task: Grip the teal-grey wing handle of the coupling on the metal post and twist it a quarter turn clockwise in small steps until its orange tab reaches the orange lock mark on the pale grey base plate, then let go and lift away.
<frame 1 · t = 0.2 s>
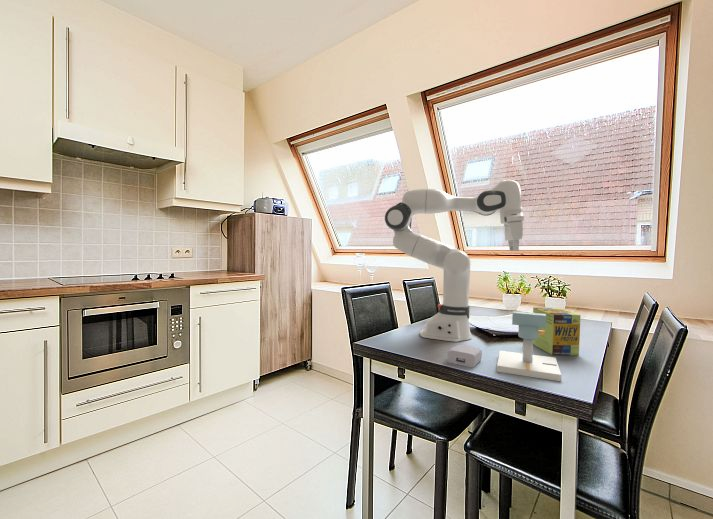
hand: (514, 250, 147), 39 cm above the table, tool pointing down, fingers open, 8 cm apart
post base: (527, 367, 116), on the table
charger: (467, 360, 124), on the table
protein box: (554, 350, 137), on the table
coupling: (528, 325, 116), point 14 cm above the table, hinge at 0.0°
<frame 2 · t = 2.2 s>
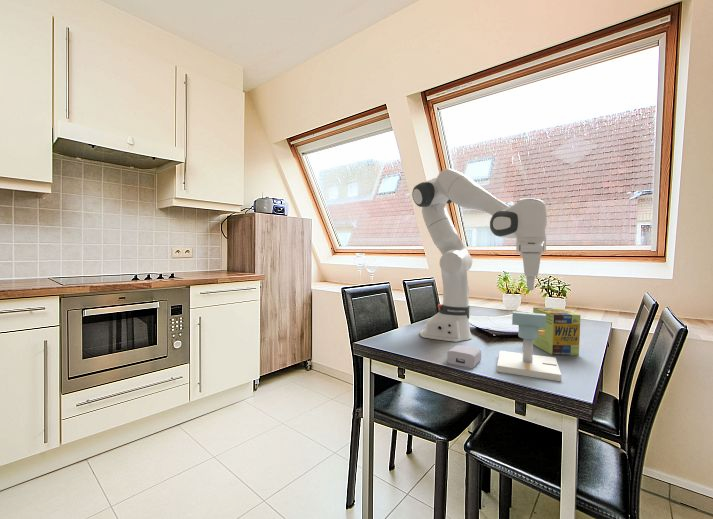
hand: (529, 288, 115), 27 cm above the table, tool pointing down, fingers open, 8 cm apart
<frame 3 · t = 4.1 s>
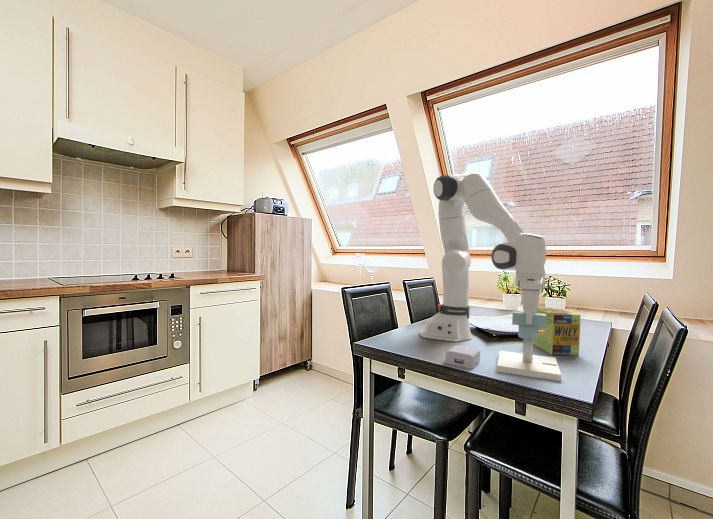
hand: (528, 322, 116), 15 cm above the table, tool pointing down, fingers closed on coupling, 3 cm apart
coupling: (528, 325, 116), point 14 cm above the table, hinge at 0.0°, touching gripper
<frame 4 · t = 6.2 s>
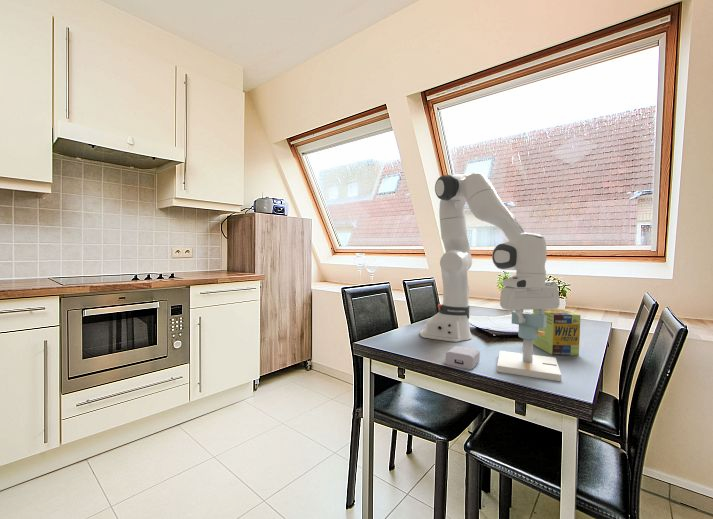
hand: (529, 322, 115), 15 cm above the table, tool pointing down, fingers closed on coupling, 4 cm apart
coupling: (528, 325, 116), point 14 cm above the table, hinge at -19.6°, touching gripper
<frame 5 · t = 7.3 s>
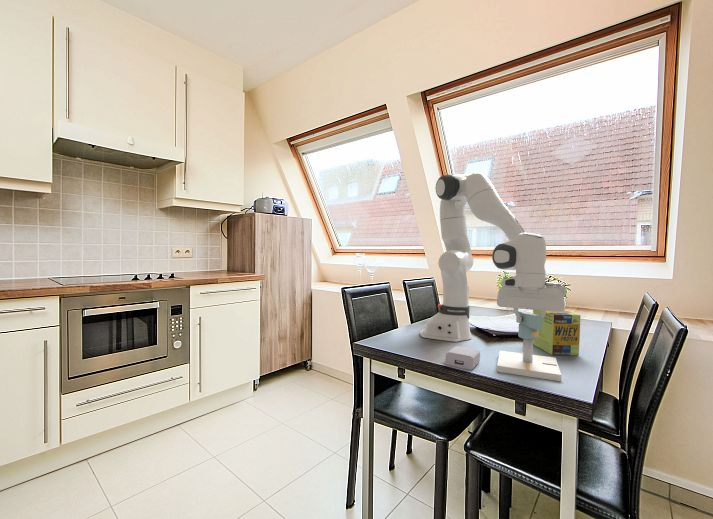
hand: (529, 322, 115), 15 cm above the table, tool pointing down, fingers closed on coupling, 5 cm apart
coupling: (528, 325, 116), point 14 cm above the table, hinge at -60.7°, touching gripper
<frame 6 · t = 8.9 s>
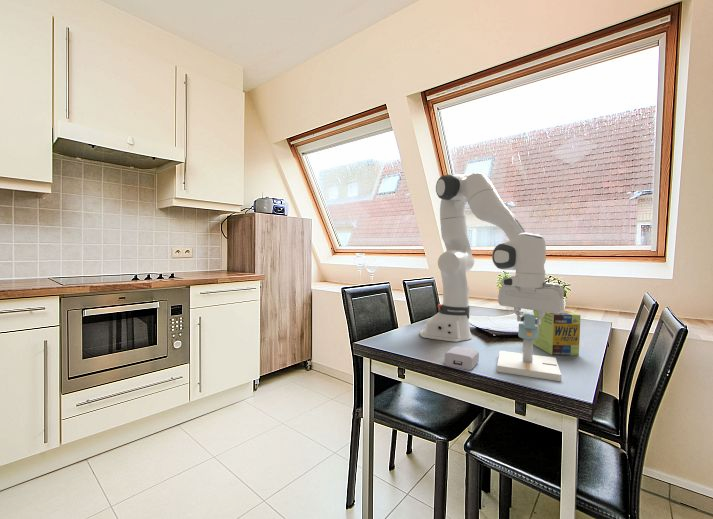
hand: (528, 322, 116), 15 cm above the table, tool pointing down, fingers closed on coupling, 4 cm apart
coupling: (528, 325, 116), point 14 cm above the table, hinge at -87.7°, touching gripper
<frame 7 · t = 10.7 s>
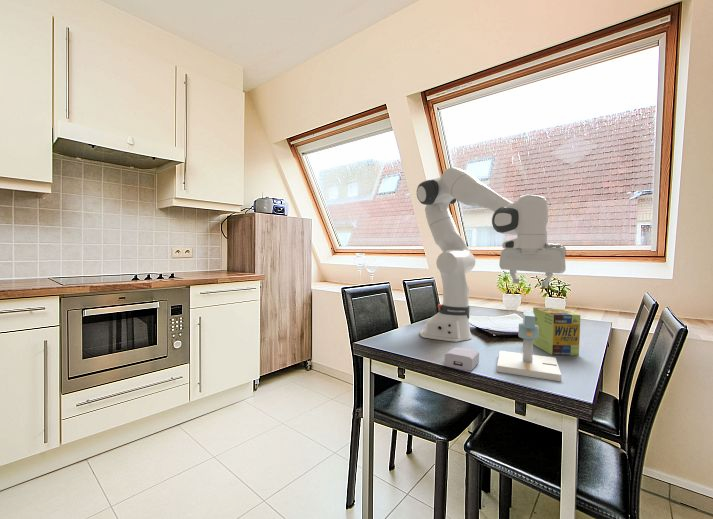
hand: (529, 285, 115), 28 cm above the table, tool pointing down, fingers open, 8 cm apart
coupling: (528, 325, 116), point 14 cm above the table, hinge at -87.9°
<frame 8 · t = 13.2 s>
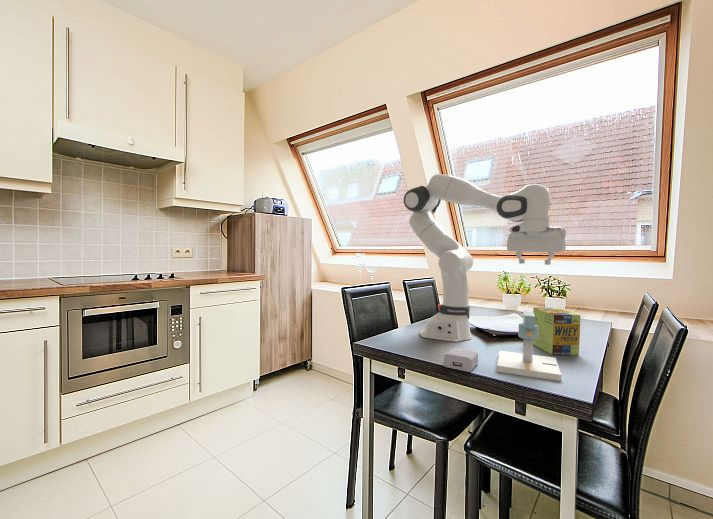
hand: (534, 264, 131), 34 cm above the table, tool pointing down, fingers open, 8 cm apart
at the end: coupling at -88° (first picture: +0°); the gripper is holding nothing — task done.
